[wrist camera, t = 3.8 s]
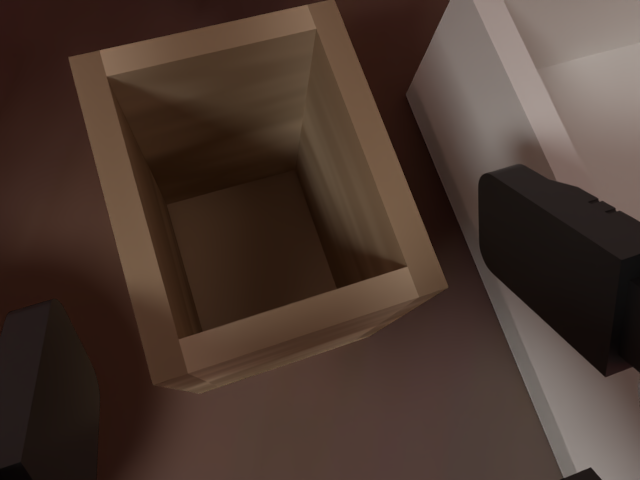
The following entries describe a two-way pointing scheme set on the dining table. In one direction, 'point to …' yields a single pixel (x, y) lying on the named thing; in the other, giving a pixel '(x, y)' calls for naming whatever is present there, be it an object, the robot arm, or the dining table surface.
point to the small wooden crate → (252, 195)
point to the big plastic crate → (551, 162)
